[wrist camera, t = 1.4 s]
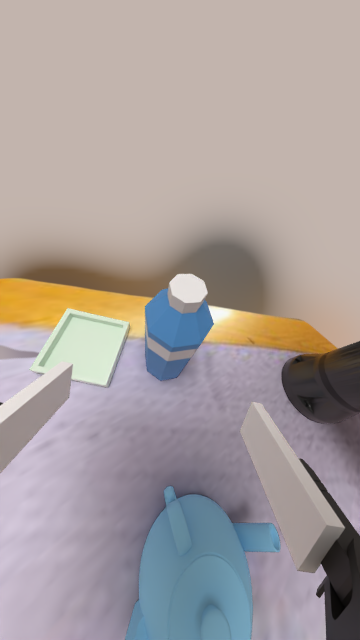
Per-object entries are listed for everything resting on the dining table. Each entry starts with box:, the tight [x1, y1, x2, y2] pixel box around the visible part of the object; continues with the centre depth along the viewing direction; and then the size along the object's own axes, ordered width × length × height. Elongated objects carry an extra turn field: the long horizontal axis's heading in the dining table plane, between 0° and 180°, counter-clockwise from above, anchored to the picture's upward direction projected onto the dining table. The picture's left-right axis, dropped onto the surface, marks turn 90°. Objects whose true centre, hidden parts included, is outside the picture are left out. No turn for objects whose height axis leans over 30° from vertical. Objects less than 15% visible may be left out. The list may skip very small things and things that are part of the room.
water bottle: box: [145, 274, 214, 381], centre depth 29 cm, size 9×9×25 cm
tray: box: [29, 308, 130, 387], centre depth 37 cm, size 14×14×2 cm
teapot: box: [125, 486, 280, 640], centre depth 21 cm, size 15×17×11 cm
